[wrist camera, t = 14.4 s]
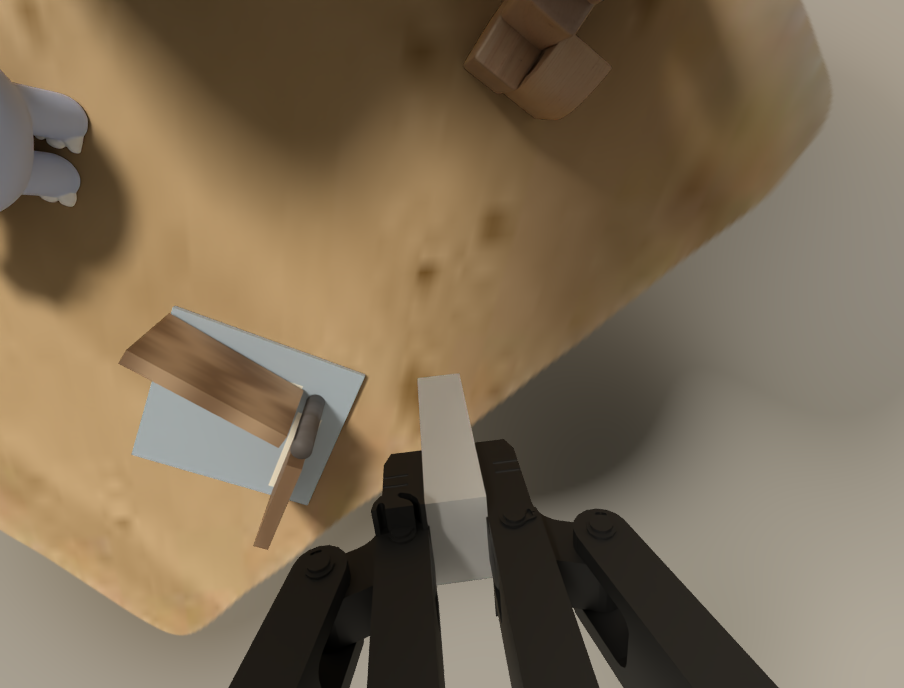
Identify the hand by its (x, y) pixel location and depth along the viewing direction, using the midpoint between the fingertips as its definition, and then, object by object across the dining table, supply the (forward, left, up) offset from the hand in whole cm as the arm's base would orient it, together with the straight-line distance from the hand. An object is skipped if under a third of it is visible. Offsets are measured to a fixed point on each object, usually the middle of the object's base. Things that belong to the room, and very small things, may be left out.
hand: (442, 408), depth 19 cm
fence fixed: (-3, -21, -24) cm, 32 cm away
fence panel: (-10, -14, -24) cm, 30 cm away
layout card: (-8, -19, -24) cm, 32 cm away
